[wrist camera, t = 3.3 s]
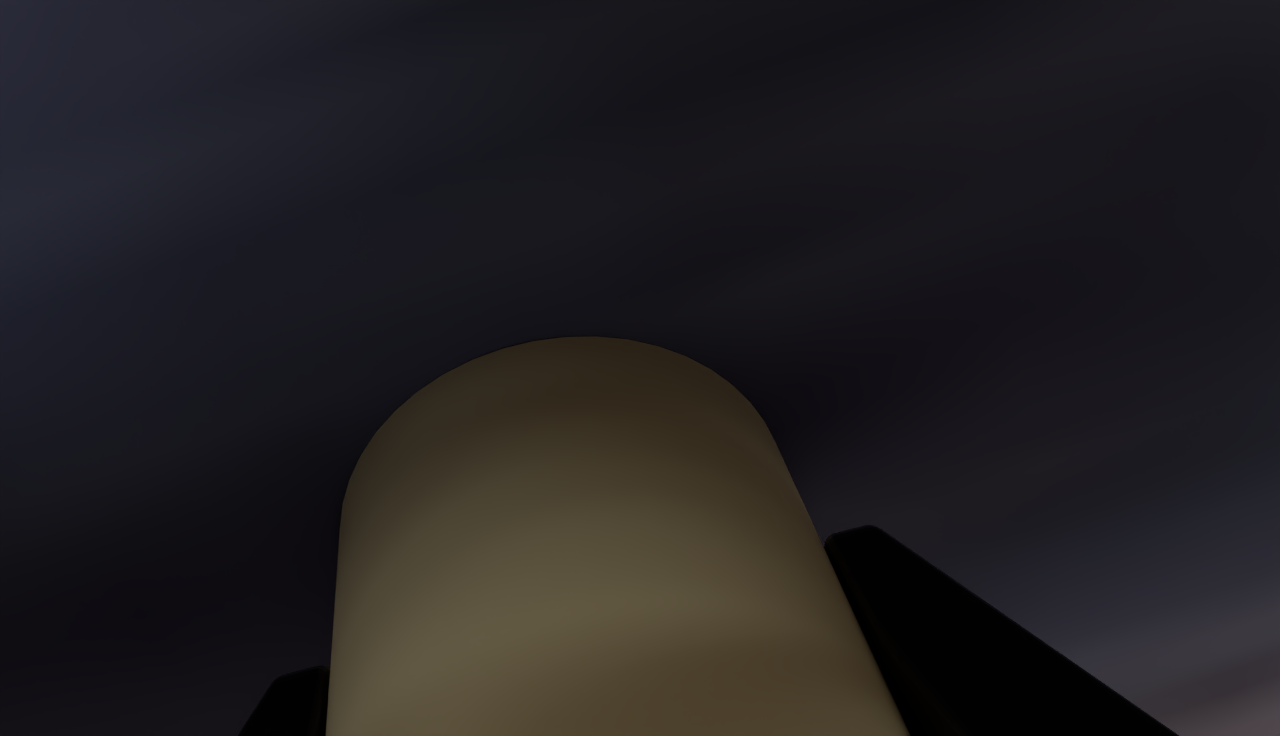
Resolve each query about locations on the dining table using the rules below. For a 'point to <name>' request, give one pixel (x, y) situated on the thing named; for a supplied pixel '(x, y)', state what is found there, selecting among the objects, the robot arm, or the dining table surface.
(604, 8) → the dining table surface
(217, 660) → the dining table surface
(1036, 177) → the dining table surface
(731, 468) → the jaw peg
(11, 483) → the dining table surface
